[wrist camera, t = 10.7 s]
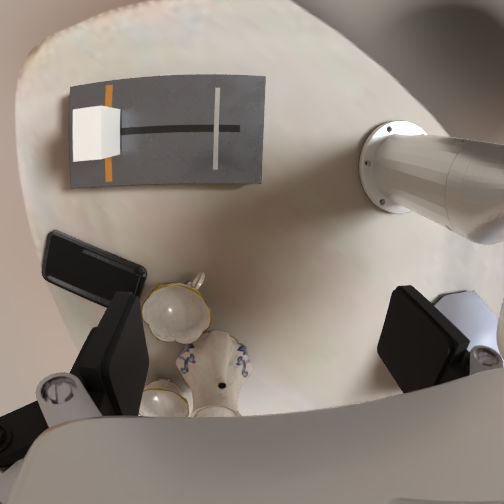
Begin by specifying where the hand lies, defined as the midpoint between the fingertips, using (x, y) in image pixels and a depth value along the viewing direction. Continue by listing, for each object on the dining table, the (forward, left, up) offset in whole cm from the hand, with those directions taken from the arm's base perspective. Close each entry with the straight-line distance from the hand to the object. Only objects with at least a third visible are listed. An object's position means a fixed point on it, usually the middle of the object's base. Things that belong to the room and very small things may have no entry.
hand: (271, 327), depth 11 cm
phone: (+19, +11, -29) cm, 36 cm away
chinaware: (+5, +24, -29) cm, 38 cm away
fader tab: (+14, -7, -25) cm, 29 cm away
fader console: (+8, -7, -28) cm, 30 cm away
